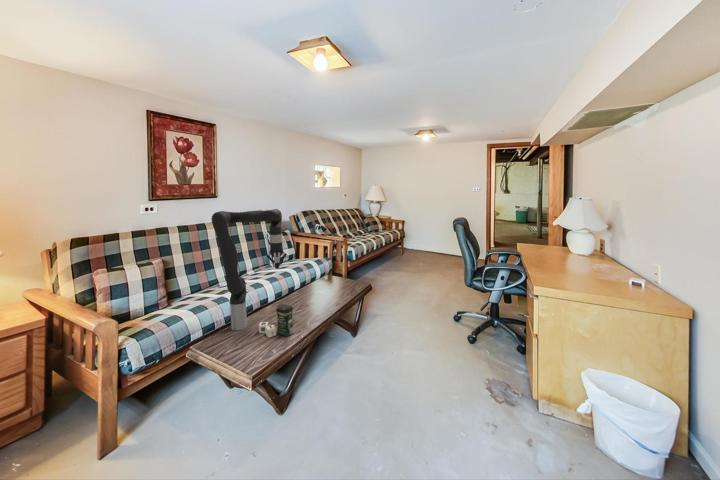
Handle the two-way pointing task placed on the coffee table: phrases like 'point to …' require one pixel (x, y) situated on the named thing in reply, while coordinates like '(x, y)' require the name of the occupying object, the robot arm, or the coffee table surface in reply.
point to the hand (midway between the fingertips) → (277, 268)
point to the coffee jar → (284, 319)
